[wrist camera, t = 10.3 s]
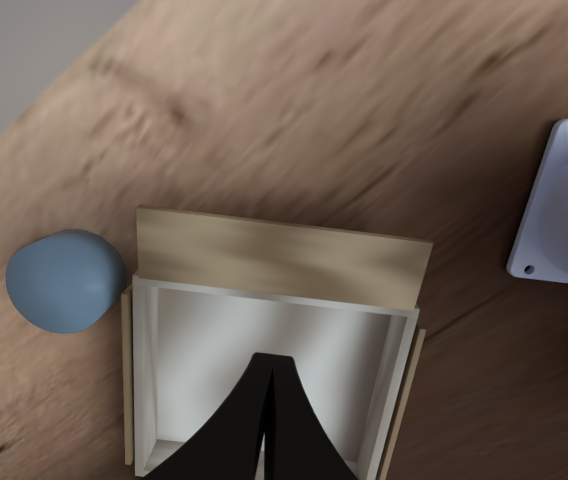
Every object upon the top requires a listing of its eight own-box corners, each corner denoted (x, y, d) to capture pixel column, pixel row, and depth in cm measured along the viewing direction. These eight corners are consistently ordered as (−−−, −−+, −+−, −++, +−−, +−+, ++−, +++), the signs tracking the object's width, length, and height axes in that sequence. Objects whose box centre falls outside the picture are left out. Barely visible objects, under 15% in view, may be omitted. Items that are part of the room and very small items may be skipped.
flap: (411, 306, 17) (430, 240, 16) (413, 310, 17) (433, 243, 15) (141, 274, 17) (139, 204, 16) (138, 278, 17) (135, 207, 15)
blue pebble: (108, 220, 19) (84, 231, 17) (138, 302, 21) (119, 324, 18) (23, 238, 20) (-12, 252, 18) (58, 318, 21) (30, 341, 19)
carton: (413, 287, 20) (431, 311, 17) (368, 463, 24) (378, 505, 21) (143, 255, 20) (120, 275, 17) (144, 438, 24) (125, 477, 21)
